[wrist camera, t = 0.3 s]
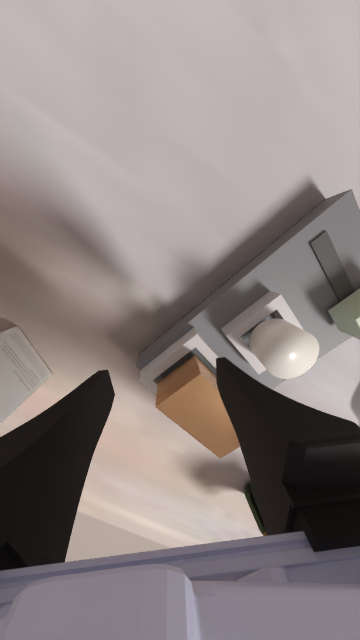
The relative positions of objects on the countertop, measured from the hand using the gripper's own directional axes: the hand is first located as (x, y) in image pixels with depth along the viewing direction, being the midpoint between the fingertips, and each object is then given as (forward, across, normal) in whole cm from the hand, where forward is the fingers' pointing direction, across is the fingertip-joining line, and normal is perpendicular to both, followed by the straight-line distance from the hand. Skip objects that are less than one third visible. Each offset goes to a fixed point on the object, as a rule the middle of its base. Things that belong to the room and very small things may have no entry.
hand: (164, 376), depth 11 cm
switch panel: (+10, -11, +2) cm, 15 cm away
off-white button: (+5, -10, +1) cm, 11 cm away
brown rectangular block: (+5, -3, +7) cm, 9 cm away
